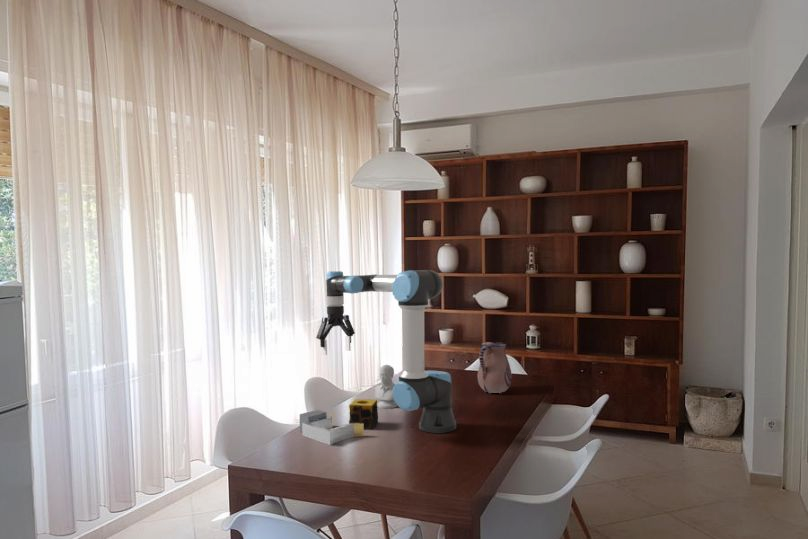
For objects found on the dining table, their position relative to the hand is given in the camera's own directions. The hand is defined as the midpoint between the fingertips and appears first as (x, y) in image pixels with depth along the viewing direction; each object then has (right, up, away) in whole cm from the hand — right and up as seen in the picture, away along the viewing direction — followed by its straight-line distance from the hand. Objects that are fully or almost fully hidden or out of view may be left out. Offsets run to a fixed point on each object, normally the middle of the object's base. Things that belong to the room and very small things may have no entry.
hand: (336, 352), depth 252 cm
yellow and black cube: (+14, -28, -19) cm, 37 cm away
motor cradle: (+1, -28, -30) cm, 41 cm away
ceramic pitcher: (+76, -26, +33) cm, 87 cm away
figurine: (+23, -27, +11) cm, 37 cm away
